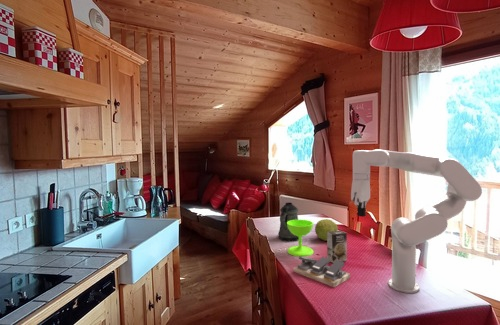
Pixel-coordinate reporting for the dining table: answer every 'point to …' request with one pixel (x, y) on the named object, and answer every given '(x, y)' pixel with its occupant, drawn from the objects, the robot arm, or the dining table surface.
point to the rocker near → (334, 268)
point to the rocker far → (308, 259)
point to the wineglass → (300, 236)
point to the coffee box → (337, 246)
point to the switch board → (321, 274)
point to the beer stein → (286, 215)
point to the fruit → (325, 228)
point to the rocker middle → (320, 264)
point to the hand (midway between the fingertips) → (361, 215)
